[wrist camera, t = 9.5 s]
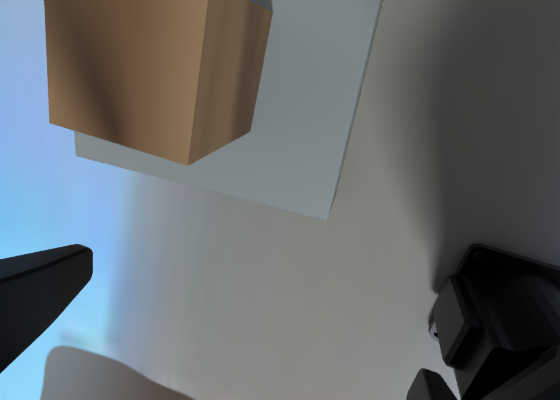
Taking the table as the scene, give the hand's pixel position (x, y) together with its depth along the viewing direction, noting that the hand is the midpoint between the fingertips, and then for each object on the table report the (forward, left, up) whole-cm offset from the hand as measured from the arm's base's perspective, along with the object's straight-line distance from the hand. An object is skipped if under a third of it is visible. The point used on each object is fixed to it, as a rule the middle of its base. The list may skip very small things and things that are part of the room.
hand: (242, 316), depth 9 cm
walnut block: (+6, -5, -9) cm, 11 cm away
